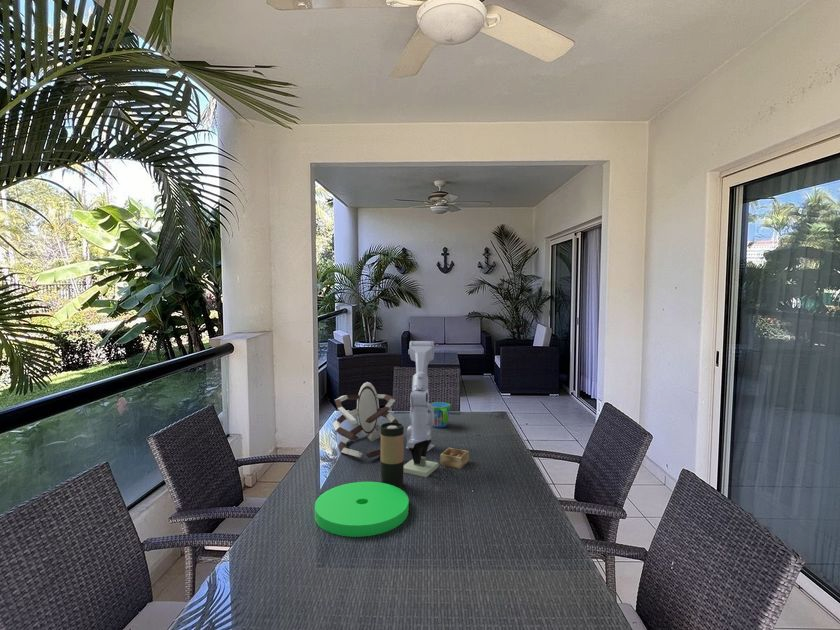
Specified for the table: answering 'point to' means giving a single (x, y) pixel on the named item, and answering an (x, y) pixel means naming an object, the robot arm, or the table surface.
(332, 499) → the disc
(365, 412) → the decorative sculpture
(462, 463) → the box
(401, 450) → the travel mug
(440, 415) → the snack cup
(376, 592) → the table surface
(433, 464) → the lid
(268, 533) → the table surface
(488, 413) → the table surface
